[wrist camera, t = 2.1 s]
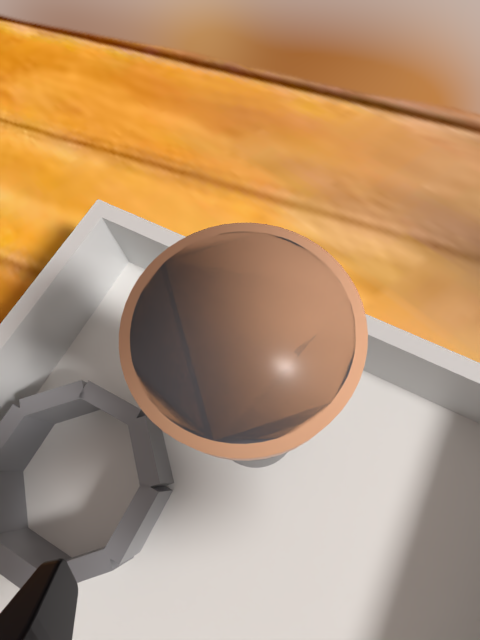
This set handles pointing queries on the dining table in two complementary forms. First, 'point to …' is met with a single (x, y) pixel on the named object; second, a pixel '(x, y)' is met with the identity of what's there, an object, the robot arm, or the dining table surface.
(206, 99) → the dining table surface
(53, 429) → the walled box
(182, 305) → the capped peg
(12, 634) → the robot arm
